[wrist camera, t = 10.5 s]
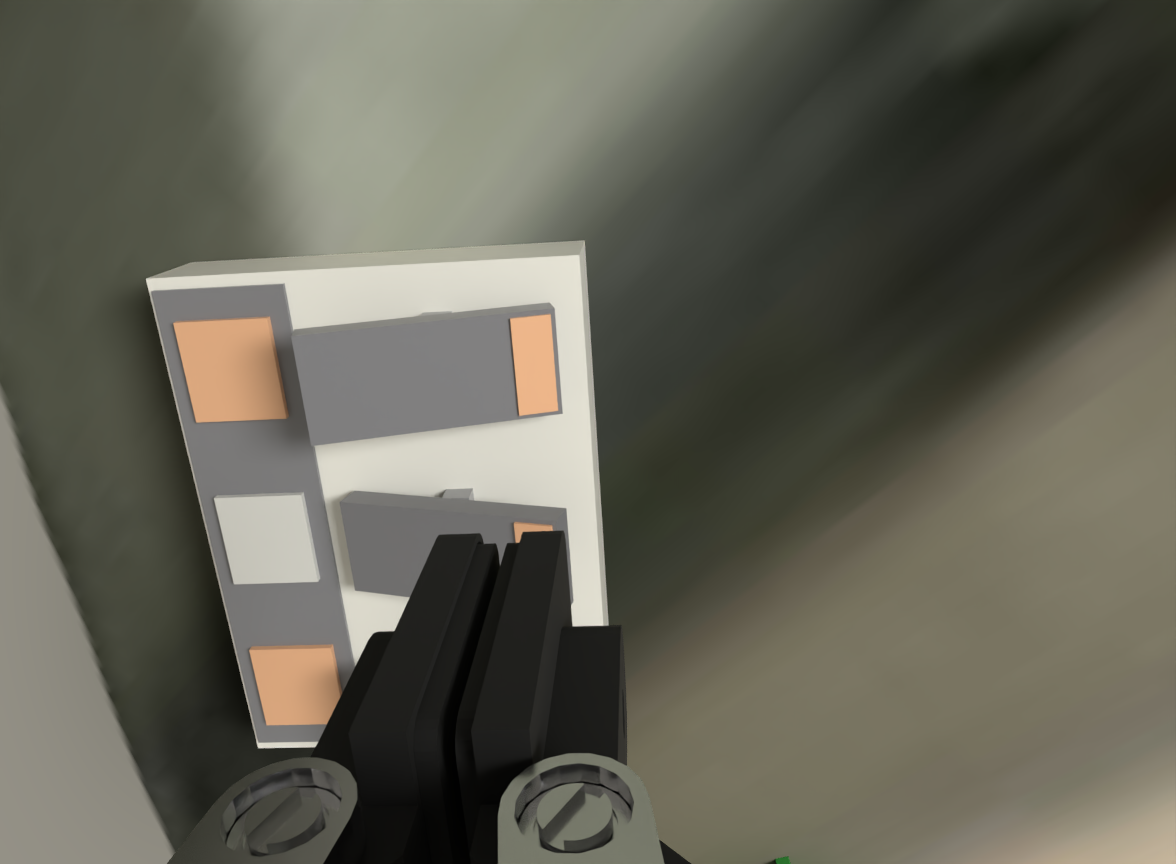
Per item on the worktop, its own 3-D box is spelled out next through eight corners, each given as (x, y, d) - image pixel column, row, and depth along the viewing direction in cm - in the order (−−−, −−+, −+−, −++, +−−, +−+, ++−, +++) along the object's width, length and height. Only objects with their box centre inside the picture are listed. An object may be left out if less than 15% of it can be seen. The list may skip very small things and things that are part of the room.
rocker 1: (294, 329, 34) (290, 337, 32) (549, 302, 35) (555, 308, 34) (313, 435, 35) (310, 447, 34) (557, 405, 37) (563, 414, 36)
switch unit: (191, 262, 40) (133, 283, 35) (584, 240, 39) (577, 259, 34) (287, 698, 48) (250, 761, 43) (612, 691, 47) (610, 756, 42)
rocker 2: (354, 490, 39) (337, 503, 38) (566, 508, 36) (555, 522, 34) (369, 577, 40) (353, 592, 39) (573, 601, 37) (563, 618, 36)
